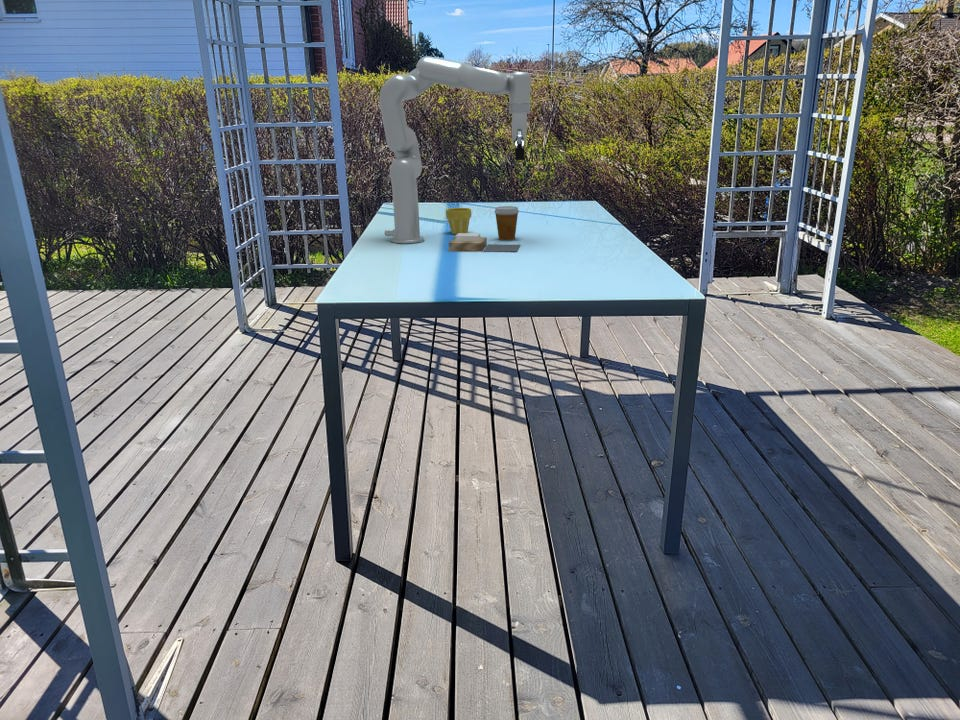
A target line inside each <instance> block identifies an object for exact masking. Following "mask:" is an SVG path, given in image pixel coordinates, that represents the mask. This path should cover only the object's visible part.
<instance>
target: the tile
mask: <svg viewBox="0 0 960 720" xmlns="http://www.w3.org/2000/svg"><path fill="white" fill-rule="evenodd" d="M455 237H456V241H458V242H478V241H479V239H480V237H481V233H479V232H477V233H476V232H475V233H474V232H473V233H472V232H468V233H458V234H455Z"/></svg>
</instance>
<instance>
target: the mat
mask: <svg viewBox="0 0 960 720" xmlns="http://www.w3.org/2000/svg"><path fill="white" fill-rule="evenodd" d="M487 244H488V245H487V246H486V247H485V248H484V250H483V251H482V252H483V253H518V251H519V249H520V247H521V244H507V243H506V244H503V243H502V244H499V243H498V244H496V243H495V244H494V243H493V244H489V243H487Z"/></svg>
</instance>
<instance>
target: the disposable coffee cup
mask: <svg viewBox="0 0 960 720" xmlns="http://www.w3.org/2000/svg"><path fill="white" fill-rule="evenodd" d="M493 212H494V214H495V219H496V228H497V234H498V236H497V237H498V240H499V241H514V240H516V234H517V233H516V231H517V225H518V215H519V212H520V210H519V207H517V206H506V205H504V206H497V207H495V209H494V211H493ZM513 239H514V240H513Z"/></svg>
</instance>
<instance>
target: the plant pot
mask: <svg viewBox="0 0 960 720" xmlns="http://www.w3.org/2000/svg"><path fill="white" fill-rule="evenodd" d="M445 216H446V219H447V221H448V225H449V229H450V232H451V234H452V235H457V234H458V233H469V232H468V231H469V227H470V220H471V219H470V218H472V208H470V207H469V208H468V207H452V208H451V207H450V208H447V209H445Z"/></svg>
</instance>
